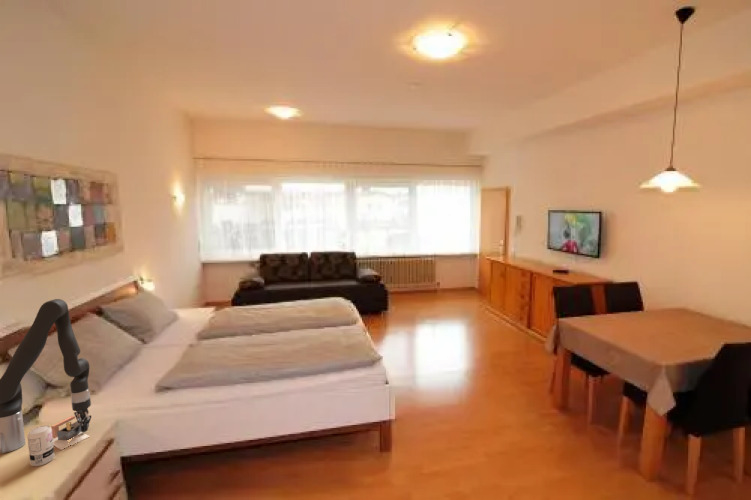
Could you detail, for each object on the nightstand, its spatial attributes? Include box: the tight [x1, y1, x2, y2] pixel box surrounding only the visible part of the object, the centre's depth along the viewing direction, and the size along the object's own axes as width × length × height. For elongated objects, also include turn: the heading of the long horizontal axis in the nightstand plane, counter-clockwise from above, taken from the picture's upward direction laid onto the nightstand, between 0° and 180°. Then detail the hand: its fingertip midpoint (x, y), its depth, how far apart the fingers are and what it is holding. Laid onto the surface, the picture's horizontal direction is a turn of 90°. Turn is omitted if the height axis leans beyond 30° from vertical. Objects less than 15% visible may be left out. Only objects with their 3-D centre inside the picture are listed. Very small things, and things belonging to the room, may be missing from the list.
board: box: [53, 432, 91, 451], centre depth 190 cm, size 12×18×1 cm
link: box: [57, 420, 90, 440], centre depth 194 cm, size 12×6×4 cm, turn 171°
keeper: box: [50, 415, 76, 438], centre depth 195 cm, size 10×2×6 cm, turn 164°
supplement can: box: [27, 425, 55, 467], centre depth 172 cm, size 8×8×15 cm
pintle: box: [65, 421, 72, 432], centre depth 191 cm, size 2×2×8 cm
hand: (84, 431), depth 195 cm, fingers closed
